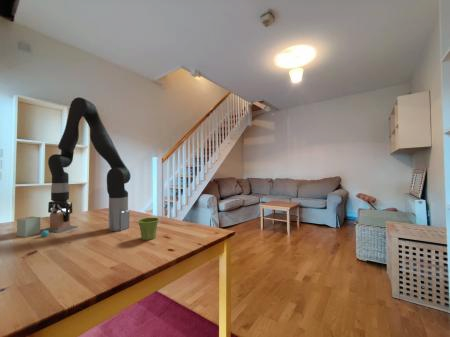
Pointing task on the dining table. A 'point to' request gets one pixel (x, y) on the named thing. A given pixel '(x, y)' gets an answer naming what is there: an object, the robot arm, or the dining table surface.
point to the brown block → (58, 221)
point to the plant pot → (148, 227)
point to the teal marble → (44, 233)
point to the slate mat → (60, 229)
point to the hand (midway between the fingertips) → (60, 221)
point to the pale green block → (28, 226)
